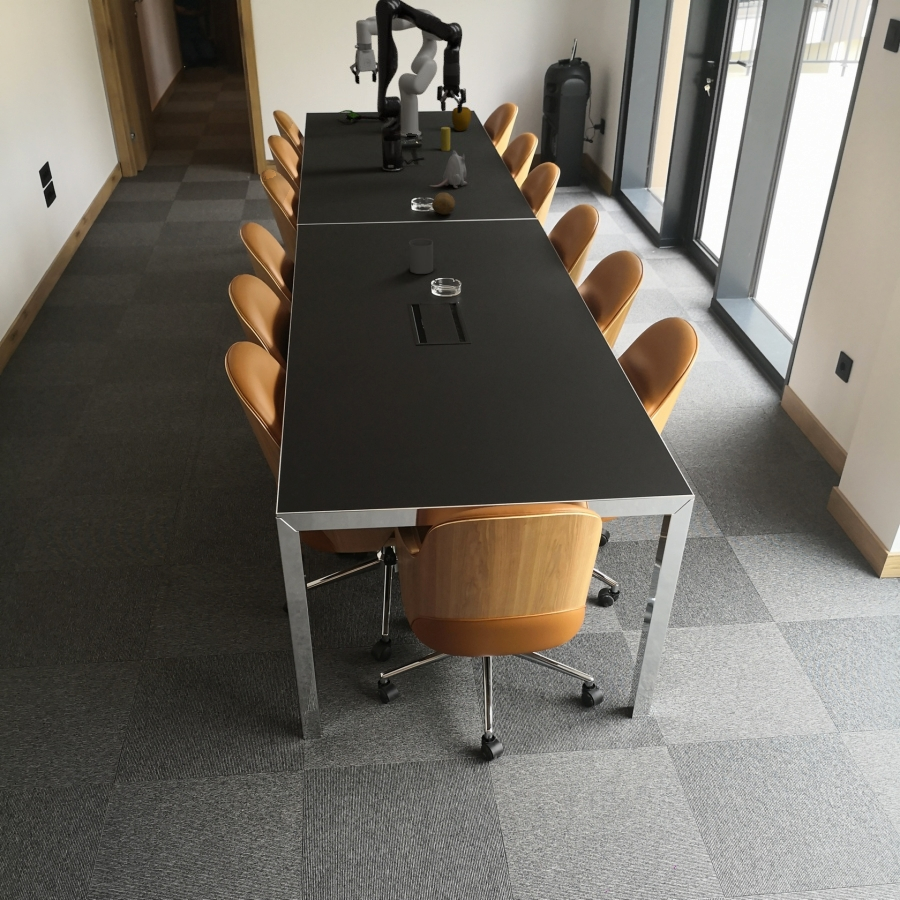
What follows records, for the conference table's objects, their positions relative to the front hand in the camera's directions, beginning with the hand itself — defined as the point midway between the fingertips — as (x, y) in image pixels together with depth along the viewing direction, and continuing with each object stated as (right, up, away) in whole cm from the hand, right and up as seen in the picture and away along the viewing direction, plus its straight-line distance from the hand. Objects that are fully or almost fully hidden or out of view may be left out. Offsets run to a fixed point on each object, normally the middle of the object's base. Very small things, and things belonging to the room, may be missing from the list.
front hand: (451, 112), depth 390 cm
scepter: (-52, +40, +118) cm, 135 cm away
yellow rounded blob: (+6, +29, +100) cm, 105 cm away
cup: (-11, -88, -82) cm, 121 cm away
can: (-3, +5, +63) cm, 64 cm away
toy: (-2, -33, +4) cm, 34 cm away
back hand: (-44, +39, +62) cm, 86 cm away
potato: (-3, -53, -28) cm, 60 cm away
